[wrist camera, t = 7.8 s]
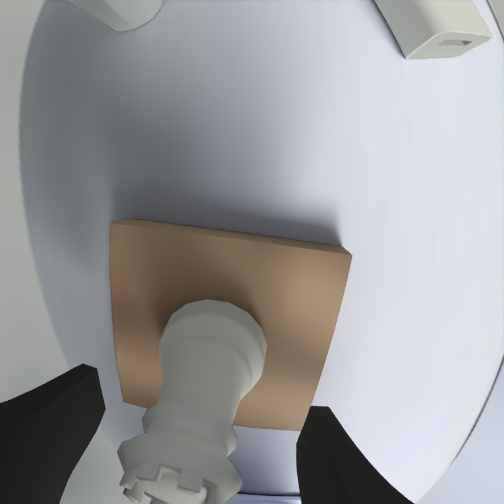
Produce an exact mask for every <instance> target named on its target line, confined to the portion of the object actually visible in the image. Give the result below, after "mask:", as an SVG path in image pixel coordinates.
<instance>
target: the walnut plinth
mask: <svg viewBox="0 0 504 504" xmlns="http://www.w3.org/2000/svg"><path fill="white" fill-rule="evenodd" d="M351 259H352V255H351V254H350V253H349V252H348V251H347V250H346V249H345V248H343V247H340V246H333V245H327V244H320V243H313V242H306V241H299V240H292V239H285V238H278V237H270V236H263V235H256V234H248V233H241V232H233V231H226V230H218V229H210V228H203V227H195V226H187V225H179V224H170V223H162V222H154V221H145V220H137V219H128V218H125V219H122V220H119V221H115V222H112V223H111V224H110V282H111V303H112V318H113V330H114V340H115V349H116V357H117V365H118V372H119V379H120V385H121V391H122V397H123V402H126V403H130V404H133V405H137V406H140V407H144V408H148V409H149V408H151V407H153V406H155V405H156V404H157V402H158V400H159V395H160V391H161V387H162V382H163V378H164V377H163V375H162V367H161V365H160V363H159V340H160V338H161V336H162V334H163V332H164V329H165V327H166V325H167V323H168V321H169V319H170V317H171V315H172V314H173V313H175V312H176V311H177V310H179V309H180V308H182V307H183V306H184V305H186V304H187V303H192V302H196V301H201V300H206V299H209V300H216V301H223V302H229V303H231V304H233V305H235V306H237V307H238V308H240V309H242V310H244V311H246V312H248V313H249V314H250V315H251V316H252V317H253V319H254V320H255V321H256V322H257V323H258V324H259V326H260V327H261V328H262V330H263V334H264V337H265V341H266V344H267V349H266V354H265V362H264V367H263V373H262V375H261V377H260V379H259V380H258V382H257V383H256V384H255V385H254V387H253V388H252V389H251V390H250V392H248V393H247V394H246V395H245V396H244V397H243V399H242V400H240V402H239V405H238V408H237V411H236V414H235V417H234V420H233V425H236V426H244V427H253V428H263V429H276V430H293V431H301V430H302V428H303V425H304V422H305V420H306V417H307V414H308V411H309V409H310V406H311V403H312V400H313V397H314V394H315V391H316V388H317V385H318V382H319V379H320V376H321V373H322V370H323V367H324V363H325V360H326V357H327V354H328V350H329V347H330V343H331V340H332V336H333V333H334V329H335V326H336V322H337V318H338V314H339V311H340V307H341V303H342V299H343V295H344V290H345V286H346V282H347V278H348V273H349V269H350V264H351Z"/></svg>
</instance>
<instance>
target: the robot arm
mask: <svg viewBox="0 0 504 504" xmlns="http://www.w3.org/2000/svg"><path fill="white" fill-rule="evenodd" d="M105 410H106V408H105V403H104V399H103V395H102V390H101V386H100V381H99V376H98V371H97V368H94V367H91V366H88V365H85V364H81V365H79V366H77V367H75V368H73V369H71V370H69V371H67V372H66V373H64V374H62V375H60V376H58V377H56V378H54V379H53V380H51V381H49V382H47V383H45V384H43V385H41V386H39V387H37V388H35V389H33V390H31V391H29V392H26V393H24V394H22V395H20V396H17V397H15V398H13V399H11V400H8V401H5V402H2V403H0V504H59V503H60V500H61V497H62V494H63V491H64V489H65V486H66V484H67V481H68V479H69V477H70V475H71V473H72V471H73V470H74V468H75V466H76V465H77V463H78V461H79V460H80V458H81V456H82V455H83V453H84V451H85V449H86V448H87V446H88V445H89V443H90V441H91V440H92V438H93V436H94V434H95V433H96V431H97V429H98V426H99V424H100V422H101V419H102V417H103V414H104V412H105ZM296 465H297V476H298V483H299V490H300V496H296V497H291V496H261V495H247V494H237V493H236V494H235V495H233V496H232V497H231V498H229V499H228V500H227V501H225V504H414V503H413V502H411V501H410V500H408V499H407V498H406V497H405V496H403V495H402V494H401V493H400V492H399V491H397V490H396V489H395V488H394V487H393V486H392V485H391V484H390V483H389V482H388V481H387V480H386V479H385V478H384V477H383V476H382V475H381V474H380V473H379V472H378V471H377V470H376V469H375V468H374V467H373V466H372V465H371V463H370V462H369V461H368V460H367V459H366V457H365V456H364V455H363V454H362V452H361V451H360V450H359V449H358V447H357V446H356V445H355V443H354V442H353V441H352V439H351V438H350V437H349V435H348V434H347V433H346V431H345V430H344V428H343V427H342V425H341V424H340V422H339V421H338V420H337V418H336V417H335V415H334V414H333V412H332V411H331V409H330V408H329V407H324V406H310V409H309V411H308V414H307V417H306V420H305V422H304V425H303V428H302V430H301V433H300V436H299V438H298V441H297V443H296Z"/></svg>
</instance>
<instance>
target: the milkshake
mask: <svg viewBox="0 0 504 504" xmlns="http://www.w3.org/2000/svg"><path fill="white" fill-rule="evenodd" d="M69 1H70V2H72V3H74V4H75V5H77V6H79V7H80V8H82V9H83V10H85V11H87V12H88V13H90V14H91V15H93V16H94V17H96V18H97V19H99V20H100V21H102V22H103V23H105V24H106V25H108V26H110V27H111V28H113V29H114V30H116V31H117V32H121V31H127V30H135V29H137V28H138V27H140V26H142V25H143V24H145V23H146V22H148V21H150V20H151V19H153V18H154V16H155V15H156V13H157V12H158V10H159V9H160V7H161V6H162V5H163V2H162V0H69Z"/></svg>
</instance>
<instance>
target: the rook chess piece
mask: <svg viewBox="0 0 504 504" xmlns="http://www.w3.org/2000/svg"><path fill="white" fill-rule="evenodd" d="M266 349H267V344H266V341H265V337H264V334H263V330H262V328H261V327H260V326H259V324H258V323H257V322H256V321H255V320H254V319H253V317H252V316H251V315H250V314H249V313H248V312H246V311H244V310H242V309H240V308H238V307H237V306H235V305H233V304H231V303H229V302H223V301H216V300H209V299H206V300H201V301H196V302H192V303H187V304H186V305H184V306H183V307H182V308H180V309H179V310H177V311H176V312H175V313H173V314H172V315H171V317H170V319H169V321H168V323H167V325H166V327H165V329H164V332H163V334H162V336H161V338H160V340H159V363H160V365H161V367H162V375H163V377H164V378H163V382H162V387H161V391H160V395H159V400H158V402H157V404H156V405H155V406H153V407H151V408H149V409H147V411H146V413H145V415H144V416H143V418H142V421H143V427H144V431H145V434H144V435H141V436H138V437H135V438H132V439H130V440H127V441H124V442H122V443H121V445H120V447H119V449H118V451H117V453H118V456H119V459H120V462H121V465H122V467H123V470H124V475H123V477H122V480H121V482H120V484H119V485H120V486H123V487H125V489H124V492H123V494H124V495H125V496H127V497H128V498H129V499H130V500H131V501H132V502H138V503H140V502H141V501H142V497H143V495H144V494H145V495H146V496H148V497H150V498H151V501H150V504H225V501H227V500H228V499H229V498H231V497H232V496H233V495H235V494H236V493H237V492H239V491H240V490H241V486H242V482H243V478H242V477H241V475H240V474H239V472H238V471H237V469H236V467H235V466H234V465H233V464H232V463H231V461H230V460H229V459H228V458H227V457H228V456H229V455H230V454H231V453H232V452H233V451H234V450H235V449H236V447H237V442H238V436H237V434H236V432H235V430H234V428H233V426H232V425H233V420H234V417H235V414H236V411H237V408H238V405H239V402H240V400H242V399H243V397H244V396H245V395H246V394H247V393H248V392H250V390H251V389H252V388H253V387H254V385H255V384H256V383H257V382H258V380H259V379H260V377H261V375H262V373H263V367H264V362H265V354H266Z"/></svg>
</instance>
